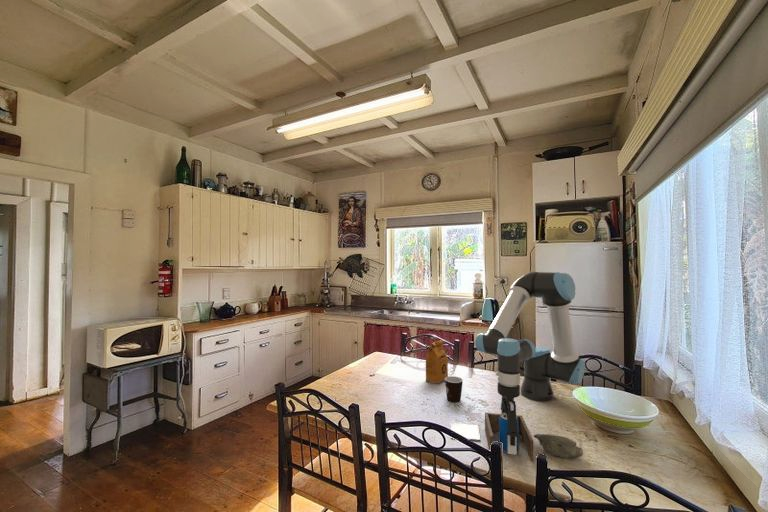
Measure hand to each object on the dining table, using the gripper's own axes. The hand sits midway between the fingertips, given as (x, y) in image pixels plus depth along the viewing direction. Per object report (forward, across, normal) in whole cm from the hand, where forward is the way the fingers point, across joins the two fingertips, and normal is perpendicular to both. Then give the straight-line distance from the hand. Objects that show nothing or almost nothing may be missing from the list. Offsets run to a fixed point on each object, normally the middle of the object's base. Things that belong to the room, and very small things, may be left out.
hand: (508, 442), depth 118 cm
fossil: (+3, -2, +17) cm, 17 cm away
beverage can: (+3, 0, 0) cm, 3 cm away
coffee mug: (+3, -40, -19) cm, 44 cm away
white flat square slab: (+2, -9, -15) cm, 18 cm away
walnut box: (+2, -3, 0) cm, 4 cm away
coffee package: (+3, -63, -28) cm, 69 cm away
